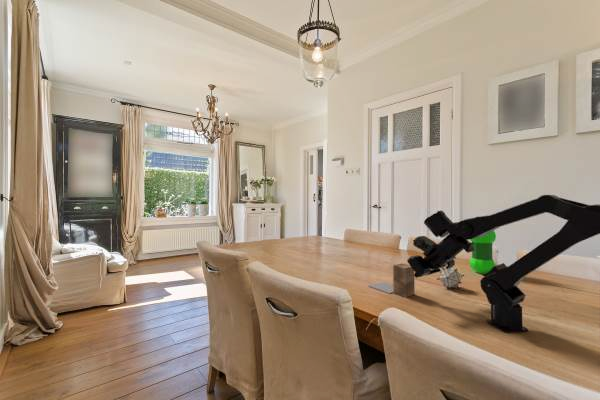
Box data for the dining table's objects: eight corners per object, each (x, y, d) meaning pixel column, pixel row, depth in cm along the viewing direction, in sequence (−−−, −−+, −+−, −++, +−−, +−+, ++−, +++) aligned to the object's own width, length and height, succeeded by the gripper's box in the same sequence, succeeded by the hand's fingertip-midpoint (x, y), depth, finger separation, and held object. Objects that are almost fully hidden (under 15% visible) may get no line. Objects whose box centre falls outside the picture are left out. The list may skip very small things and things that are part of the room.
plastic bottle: (495, 271, 126) (494, 216, 125) (496, 276, 117) (496, 217, 116) (469, 268, 131) (468, 215, 131) (469, 273, 122) (468, 217, 122)
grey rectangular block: (414, 294, 97) (414, 266, 97) (405, 297, 94) (405, 268, 94) (402, 290, 101) (401, 263, 101) (393, 293, 99) (393, 265, 98)
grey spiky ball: (456, 299, 102) (470, 282, 96) (433, 289, 104) (446, 272, 98) (453, 281, 109) (467, 264, 103) (432, 273, 111) (444, 256, 105)
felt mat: (403, 289, 103) (403, 288, 103) (389, 293, 98) (389, 292, 98) (382, 282, 111) (382, 282, 111) (368, 286, 106) (368, 285, 106)
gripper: (445, 226, 95) (416, 253, 104) (412, 231, 84) (383, 260, 93) (470, 253, 88) (436, 279, 97) (437, 261, 78) (404, 289, 87)
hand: (415, 276), depth 94 cm, fingers closed
